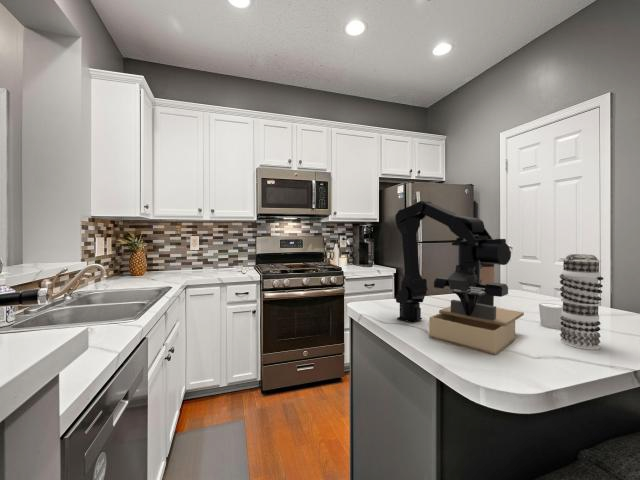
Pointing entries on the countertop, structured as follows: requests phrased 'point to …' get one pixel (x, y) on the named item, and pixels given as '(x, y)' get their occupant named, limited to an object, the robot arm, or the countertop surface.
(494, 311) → the carton lid
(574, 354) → the countertop surface
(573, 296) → the decorative candle
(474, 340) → the carton
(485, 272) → the travel mug
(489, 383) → the countertop surface
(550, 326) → the shot glass
